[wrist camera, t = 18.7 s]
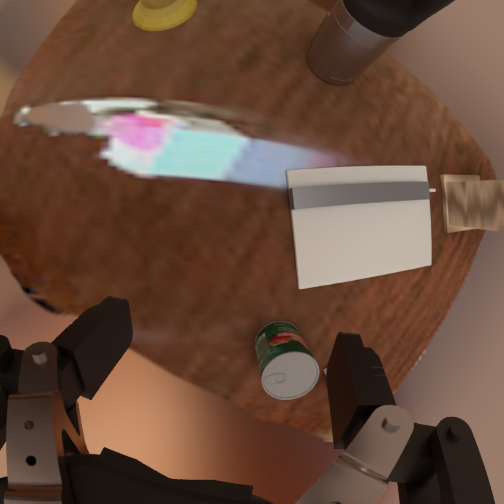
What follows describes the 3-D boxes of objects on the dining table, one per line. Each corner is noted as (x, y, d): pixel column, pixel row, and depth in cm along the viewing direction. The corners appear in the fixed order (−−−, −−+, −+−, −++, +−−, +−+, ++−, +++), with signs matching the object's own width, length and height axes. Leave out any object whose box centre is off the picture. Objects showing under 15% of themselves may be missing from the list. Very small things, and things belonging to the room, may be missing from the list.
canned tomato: (300, 317, 46) (320, 348, 35) (301, 358, 47) (318, 394, 36) (252, 323, 45) (259, 356, 34) (255, 364, 47) (263, 403, 36)
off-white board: (285, 171, 42) (287, 170, 41) (422, 166, 44) (425, 166, 43) (297, 287, 45) (299, 289, 44) (428, 263, 47) (431, 264, 46)
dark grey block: (289, 209, 42) (287, 189, 41) (427, 198, 44) (425, 182, 43) (294, 209, 39) (292, 187, 39) (437, 199, 41) (435, 181, 40)
